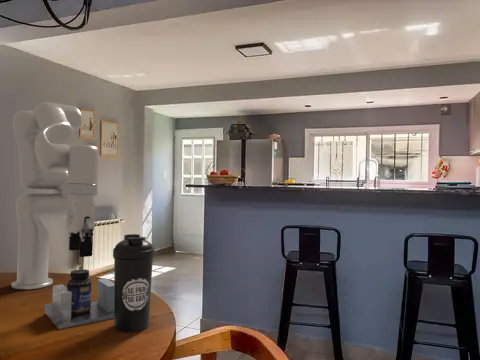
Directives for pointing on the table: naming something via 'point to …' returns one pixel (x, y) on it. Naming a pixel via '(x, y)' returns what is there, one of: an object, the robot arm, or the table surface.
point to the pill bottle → (80, 291)
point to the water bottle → (132, 283)
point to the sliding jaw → (105, 294)
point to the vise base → (78, 318)
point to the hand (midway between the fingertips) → (80, 253)
